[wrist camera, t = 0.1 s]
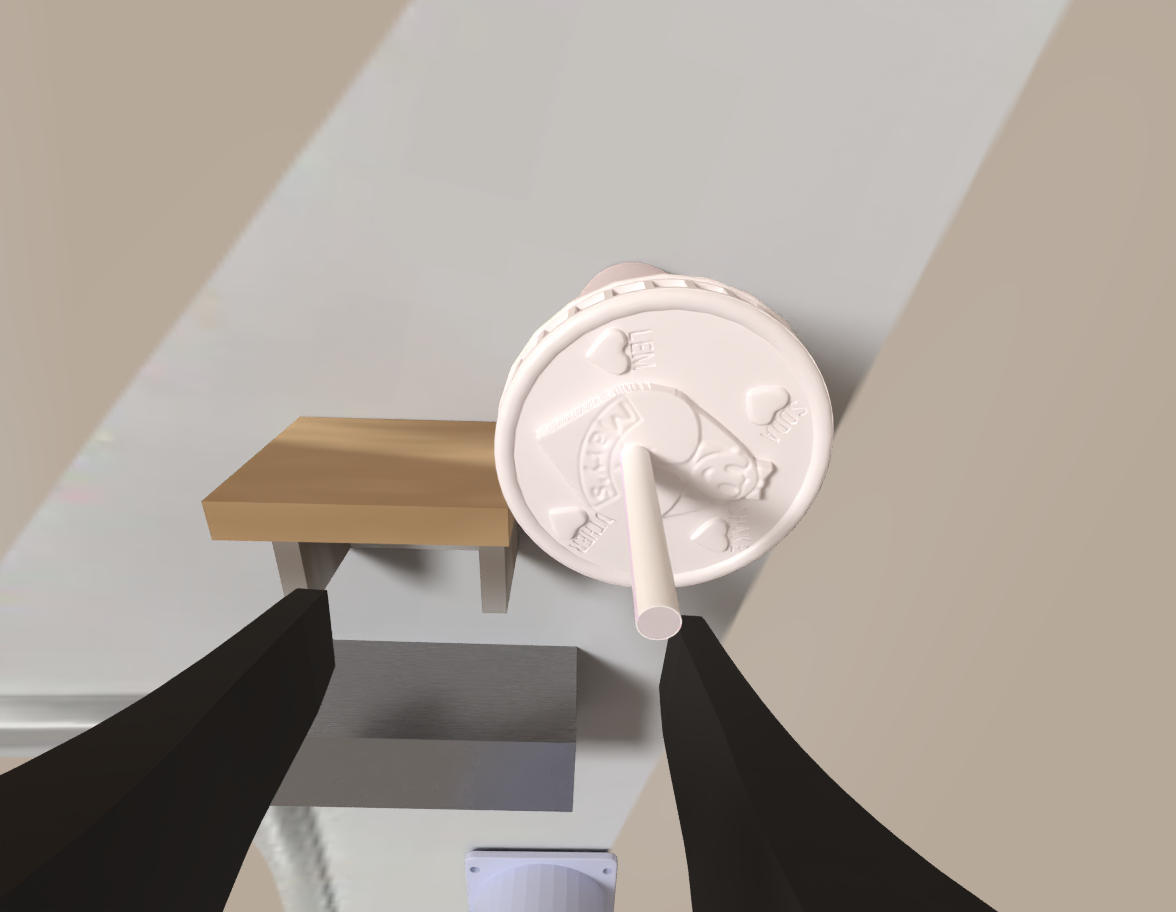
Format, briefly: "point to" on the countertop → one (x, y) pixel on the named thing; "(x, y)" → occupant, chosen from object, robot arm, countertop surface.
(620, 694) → the countertop surface
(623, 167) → the countertop surface
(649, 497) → the smoothie
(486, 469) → the bracket
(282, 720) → the robot arm
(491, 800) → the grey rectangular block
